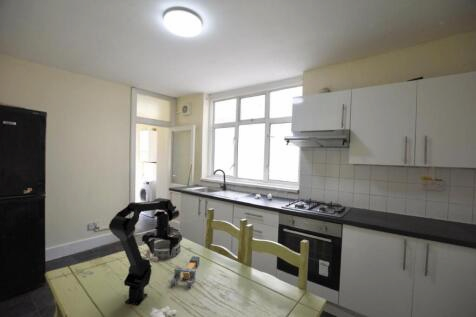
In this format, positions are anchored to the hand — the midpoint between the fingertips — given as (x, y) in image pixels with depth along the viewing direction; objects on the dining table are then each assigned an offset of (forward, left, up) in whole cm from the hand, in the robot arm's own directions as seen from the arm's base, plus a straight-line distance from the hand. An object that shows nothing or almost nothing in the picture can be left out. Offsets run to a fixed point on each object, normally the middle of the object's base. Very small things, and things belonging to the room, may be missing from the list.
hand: (161, 254), depth 107 cm
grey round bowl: (+28, +11, -12) cm, 33 cm away
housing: (-1, -12, -12) cm, 17 cm away
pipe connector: (+9, +12, -12) cm, 19 cm away
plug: (+10, -12, -12) cm, 20 cm away
